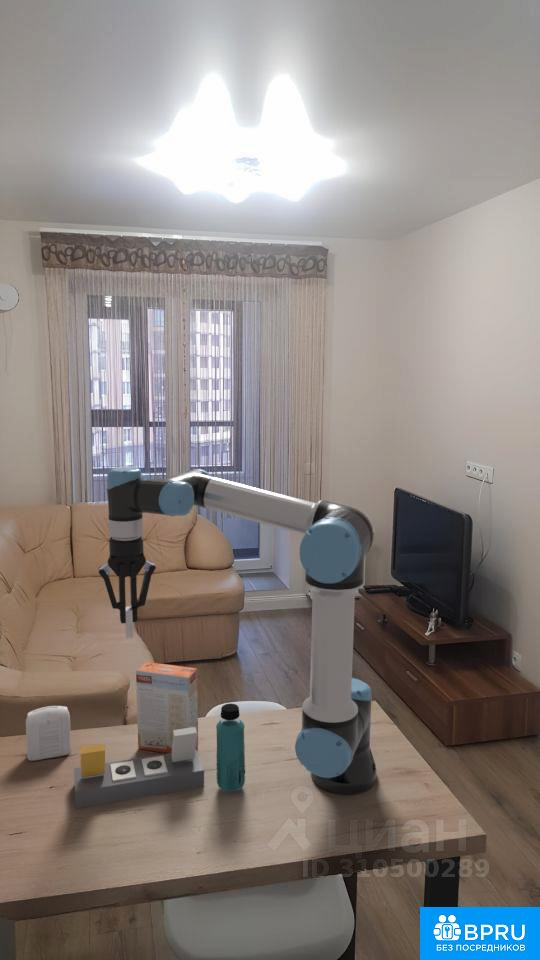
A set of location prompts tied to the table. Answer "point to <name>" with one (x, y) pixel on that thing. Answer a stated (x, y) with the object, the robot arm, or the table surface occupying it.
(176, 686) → the cracker box
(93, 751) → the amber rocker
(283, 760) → the table surface
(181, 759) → the block
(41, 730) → the photo printer
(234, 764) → the beverage bottle
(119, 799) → the power strip
